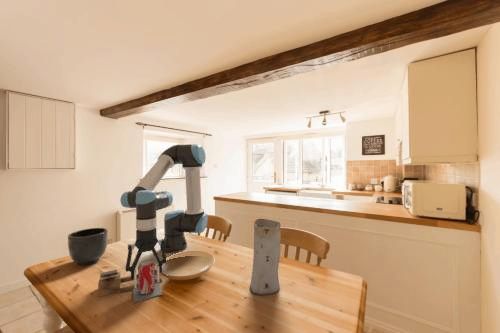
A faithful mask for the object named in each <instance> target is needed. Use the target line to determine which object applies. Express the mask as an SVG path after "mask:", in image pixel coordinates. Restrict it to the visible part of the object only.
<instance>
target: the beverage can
mask: <svg viewBox="0 0 500 333" xmlns="http://www.w3.org/2000/svg"><path fill="white" fill-rule="evenodd" d="M137 266H138V267H137V274H138V278H137V284H138V289H139V293H140V294H149V293H151V292H152V291H153V290H154V289H155V279H156V274H155V270H156V265H155V263H154V260H153V259H145V260H142V261H140V262H139V264H138V265H137Z"/></svg>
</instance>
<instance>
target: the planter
mask: <svg viewBox="0 0 500 333" xmlns="http://www.w3.org/2000/svg"><path fill="white" fill-rule="evenodd" d="M107 247H108V229H107V228H105V227H93V228H84V229H80V230H76V231H74V232H71V233H69V234H68V236H67V248H68V253H69V256H70V259H71V260H72V261H73V262H75V263H77V264H78V265H80V266H88V265H92V264H95V263H97V262H98V261H99V260H100V258H102V256H103V255H104V254H105V252H106V249H107Z"/></svg>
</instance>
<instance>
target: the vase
mask: <svg viewBox="0 0 500 333" xmlns="http://www.w3.org/2000/svg"><path fill="white" fill-rule="evenodd" d="M281 228H282V227H281V222H280V221H276V220H272V219H267V218H258V219H256V220H254V222H253V258H252V260H253V261H252V270H251V271H252V272H251V278H250V285H249V290H250V291H251V292H252V295H257V296H265V295H273V294H276V293H278V292H280V288H281V287H280V280H279V266H280V265H279V264H280V259H281V258H280V256H281V236H282V234H281Z"/></svg>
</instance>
